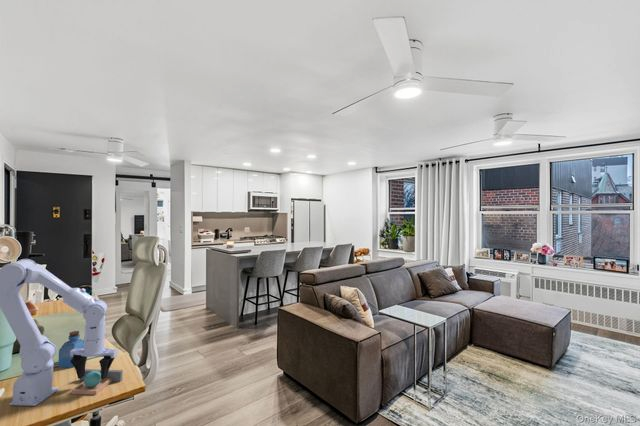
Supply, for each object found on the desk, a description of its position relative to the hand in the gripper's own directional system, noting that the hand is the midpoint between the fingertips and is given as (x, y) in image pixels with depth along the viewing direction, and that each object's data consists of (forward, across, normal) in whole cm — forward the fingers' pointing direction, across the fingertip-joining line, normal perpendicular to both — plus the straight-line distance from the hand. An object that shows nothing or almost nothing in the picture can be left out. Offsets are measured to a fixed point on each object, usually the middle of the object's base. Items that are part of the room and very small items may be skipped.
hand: (92, 377), depth 108 cm
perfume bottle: (+4, +18, -16) cm, 25 cm away
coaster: (+3, 0, 0) cm, 3 cm away
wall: (+3, 0, -5) cm, 6 cm away
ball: (+3, 0, 0) cm, 3 cm away
